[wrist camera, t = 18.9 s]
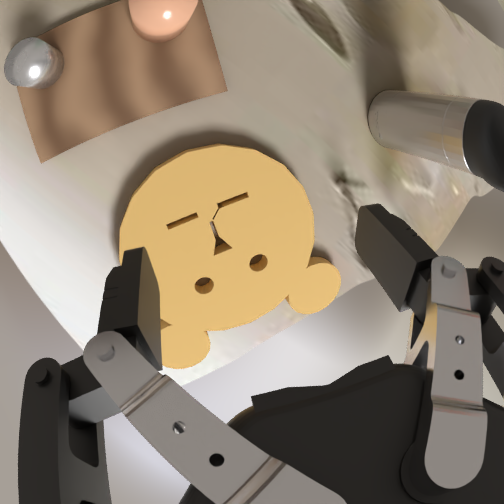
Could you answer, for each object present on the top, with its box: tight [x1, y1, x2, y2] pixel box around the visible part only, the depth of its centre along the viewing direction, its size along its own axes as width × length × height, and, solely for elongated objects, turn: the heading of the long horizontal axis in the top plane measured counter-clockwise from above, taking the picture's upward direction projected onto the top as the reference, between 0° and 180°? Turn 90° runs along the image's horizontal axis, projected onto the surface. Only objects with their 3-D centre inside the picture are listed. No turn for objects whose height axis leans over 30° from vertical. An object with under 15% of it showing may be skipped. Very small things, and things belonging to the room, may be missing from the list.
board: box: [17, 0, 228, 163], centre depth 27 cm, size 23×15×2 cm, turn 105°
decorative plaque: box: [119, 143, 341, 369], centre depth 42 cm, size 31×3×30 cm
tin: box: [4, 37, 65, 89], centre depth 22 cm, size 5×5×6 cm
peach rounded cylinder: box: [129, 0, 198, 43], centre depth 23 cm, size 6×6×7 cm
